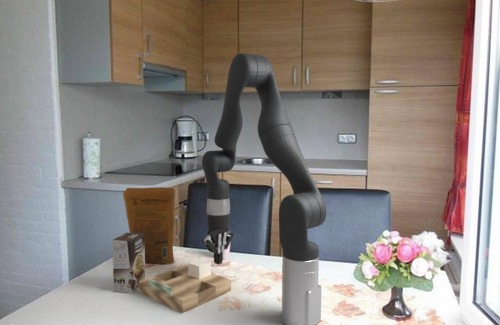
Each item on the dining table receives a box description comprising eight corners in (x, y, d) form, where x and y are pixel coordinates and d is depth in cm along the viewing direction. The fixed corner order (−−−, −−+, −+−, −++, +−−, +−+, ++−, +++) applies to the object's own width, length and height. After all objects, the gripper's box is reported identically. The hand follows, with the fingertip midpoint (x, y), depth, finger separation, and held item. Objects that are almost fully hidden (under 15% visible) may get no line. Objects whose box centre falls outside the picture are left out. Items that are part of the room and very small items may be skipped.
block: (211, 274, 127) (210, 262, 126) (199, 279, 123) (199, 266, 122) (200, 270, 130) (199, 258, 129) (188, 275, 126) (188, 262, 126)
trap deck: (230, 290, 123) (230, 273, 122) (182, 313, 108) (182, 293, 108) (186, 274, 136) (186, 258, 135) (138, 292, 121) (138, 275, 121)
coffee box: (132, 293, 121) (131, 240, 119) (112, 291, 122) (111, 239, 120) (146, 281, 130) (145, 232, 128) (127, 280, 131) (126, 231, 129)
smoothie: (212, 256, 154) (212, 220, 152) (228, 254, 156) (228, 219, 155) (218, 262, 148) (218, 224, 147) (234, 259, 151) (234, 223, 149)
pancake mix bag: (173, 267, 143) (172, 188, 140) (123, 263, 146) (121, 187, 143) (180, 260, 149) (179, 185, 147) (132, 257, 153) (130, 184, 150)
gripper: (212, 217, 124) (212, 272, 125) (240, 210, 134) (240, 260, 135) (195, 213, 128) (195, 266, 130) (224, 206, 138) (223, 255, 140)
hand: (218, 263), depth 133 cm, fingers closed
